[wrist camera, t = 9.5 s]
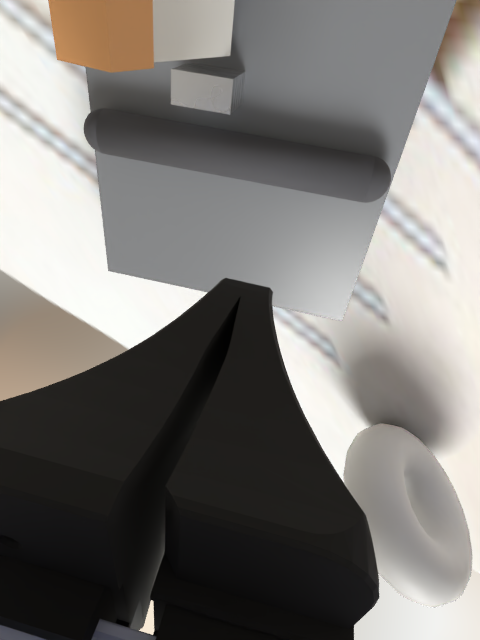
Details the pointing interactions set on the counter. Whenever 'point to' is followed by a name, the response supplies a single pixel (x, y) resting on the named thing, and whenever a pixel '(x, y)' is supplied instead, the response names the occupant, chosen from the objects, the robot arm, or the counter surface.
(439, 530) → the donut
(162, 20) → the lever
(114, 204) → the box
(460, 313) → the counter surface
